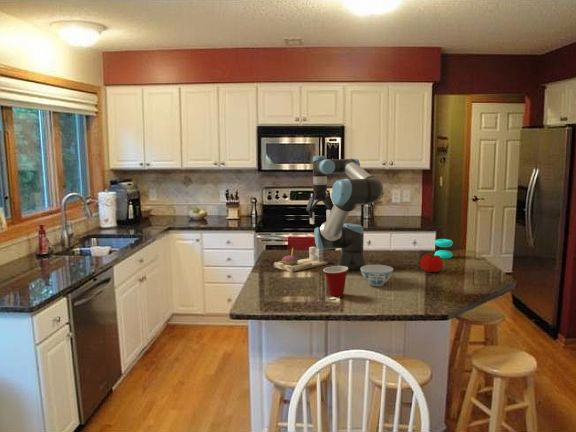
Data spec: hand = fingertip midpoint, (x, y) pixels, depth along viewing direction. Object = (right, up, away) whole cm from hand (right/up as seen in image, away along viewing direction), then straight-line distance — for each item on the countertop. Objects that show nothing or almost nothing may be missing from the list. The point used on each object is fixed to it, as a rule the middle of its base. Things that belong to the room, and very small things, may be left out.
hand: (320, 222), depth 274 cm
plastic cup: (+3, -31, -59) cm, 67 cm away
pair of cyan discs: (+72, -20, +12) cm, 76 cm away
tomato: (+55, -25, -21) cm, 64 cm away
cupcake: (-17, -25, -10) cm, 31 cm away
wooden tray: (-11, -23, -5) cm, 26 cm away
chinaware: (+23, -28, -44) cm, 57 cm away
